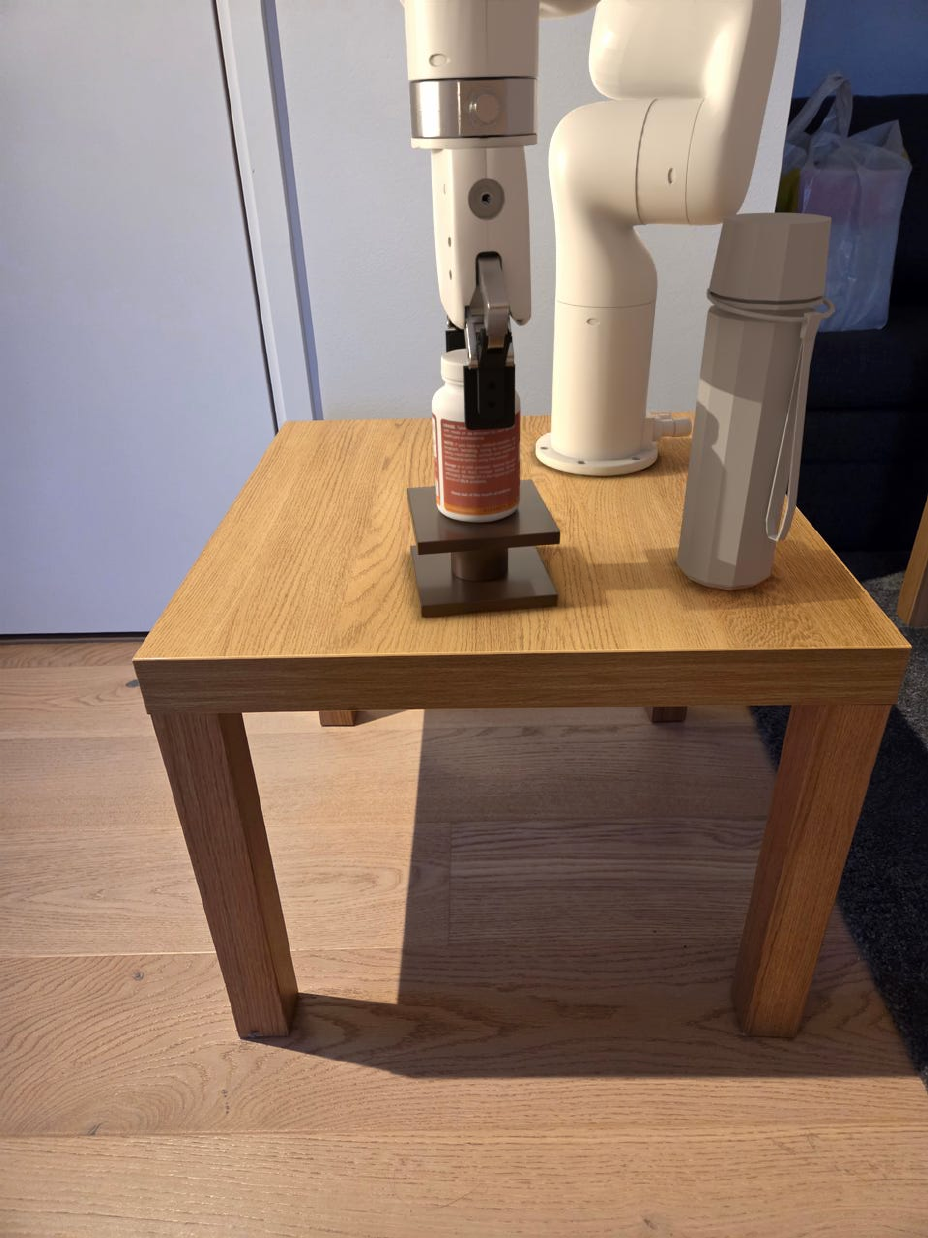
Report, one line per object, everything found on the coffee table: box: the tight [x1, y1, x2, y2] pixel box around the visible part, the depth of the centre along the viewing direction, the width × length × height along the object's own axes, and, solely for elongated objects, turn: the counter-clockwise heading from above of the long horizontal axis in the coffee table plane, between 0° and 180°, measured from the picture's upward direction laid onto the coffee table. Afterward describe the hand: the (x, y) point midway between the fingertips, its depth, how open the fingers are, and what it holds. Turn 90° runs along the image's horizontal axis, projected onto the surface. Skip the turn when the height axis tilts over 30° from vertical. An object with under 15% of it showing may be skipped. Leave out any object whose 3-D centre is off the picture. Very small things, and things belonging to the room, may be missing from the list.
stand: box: [406, 478, 561, 619], centre depth 64 cm, size 10×10×6 cm
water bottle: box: [676, 212, 836, 591], centre depth 58 cm, size 9×8×25 cm
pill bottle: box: [431, 349, 522, 522], centre depth 59 cm, size 6×6×11 cm
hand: (478, 404), depth 58 cm, fingers open, 9 cm apart
